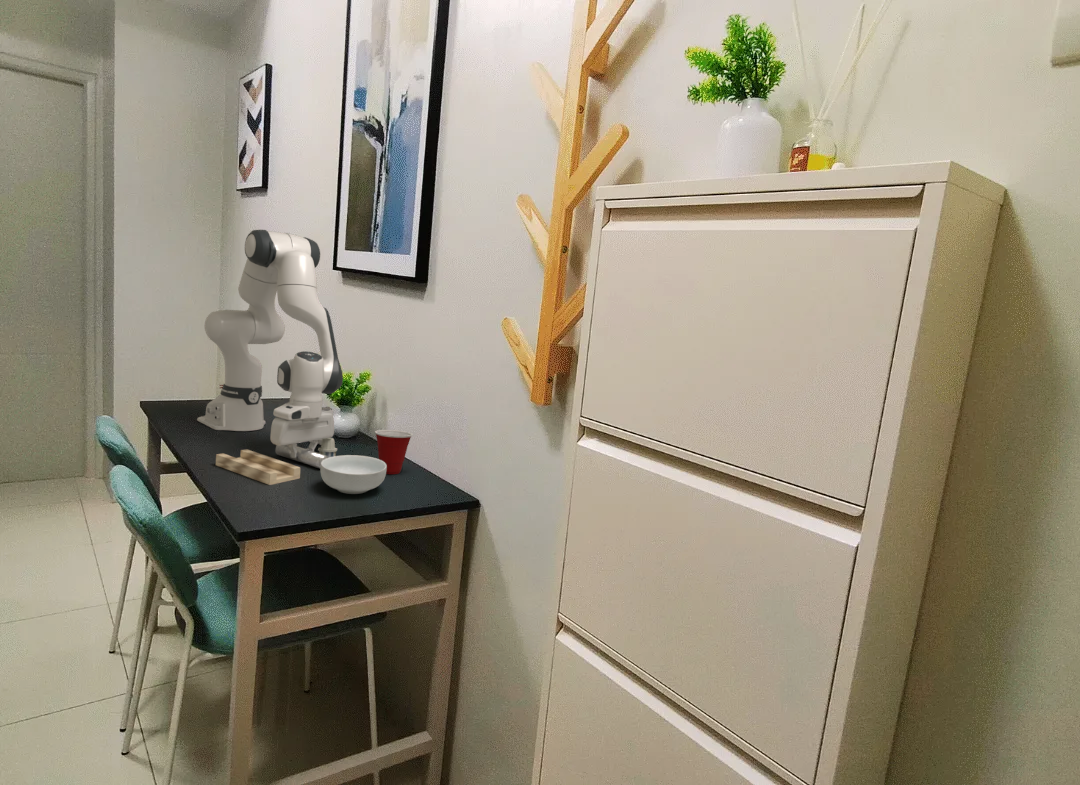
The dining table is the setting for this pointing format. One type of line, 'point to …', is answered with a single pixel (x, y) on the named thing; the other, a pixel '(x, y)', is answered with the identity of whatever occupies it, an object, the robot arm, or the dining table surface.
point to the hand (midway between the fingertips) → (302, 456)
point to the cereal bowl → (353, 473)
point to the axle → (302, 455)
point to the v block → (259, 467)
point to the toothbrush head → (327, 447)
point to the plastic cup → (392, 448)
